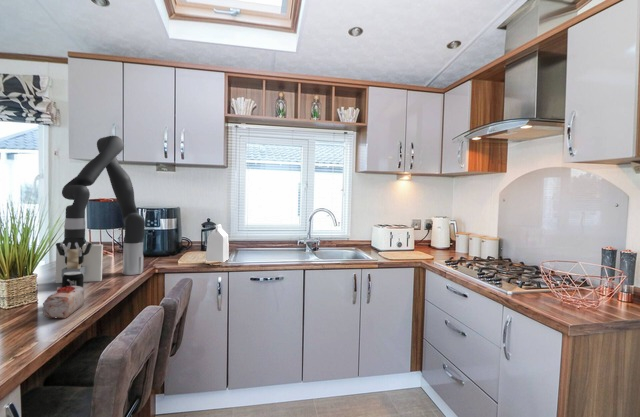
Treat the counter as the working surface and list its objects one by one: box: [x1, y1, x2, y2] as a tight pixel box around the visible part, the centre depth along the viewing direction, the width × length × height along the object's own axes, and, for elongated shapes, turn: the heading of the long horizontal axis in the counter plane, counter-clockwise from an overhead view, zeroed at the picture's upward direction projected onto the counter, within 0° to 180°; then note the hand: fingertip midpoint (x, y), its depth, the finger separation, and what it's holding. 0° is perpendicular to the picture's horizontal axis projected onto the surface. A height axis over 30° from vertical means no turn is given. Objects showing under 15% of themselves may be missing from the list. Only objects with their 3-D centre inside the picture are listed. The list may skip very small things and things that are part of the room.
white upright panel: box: [54, 244, 104, 284], centre depth 141 cm, size 18×11×18 cm, turn 111°
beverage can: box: [61, 271, 84, 288], centre depth 119 cm, size 7×7×12 cm
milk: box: [205, 224, 230, 262], centre depth 199 cm, size 12×12×26 cm
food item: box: [42, 286, 85, 319], centre depth 109 cm, size 14×8×10 cm, turn 17°
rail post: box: [67, 248, 81, 269], centre depth 139 cm, size 4×4×11 cm
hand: (74, 263), depth 139 cm, fingers closed on rail post, 4 cm apart
